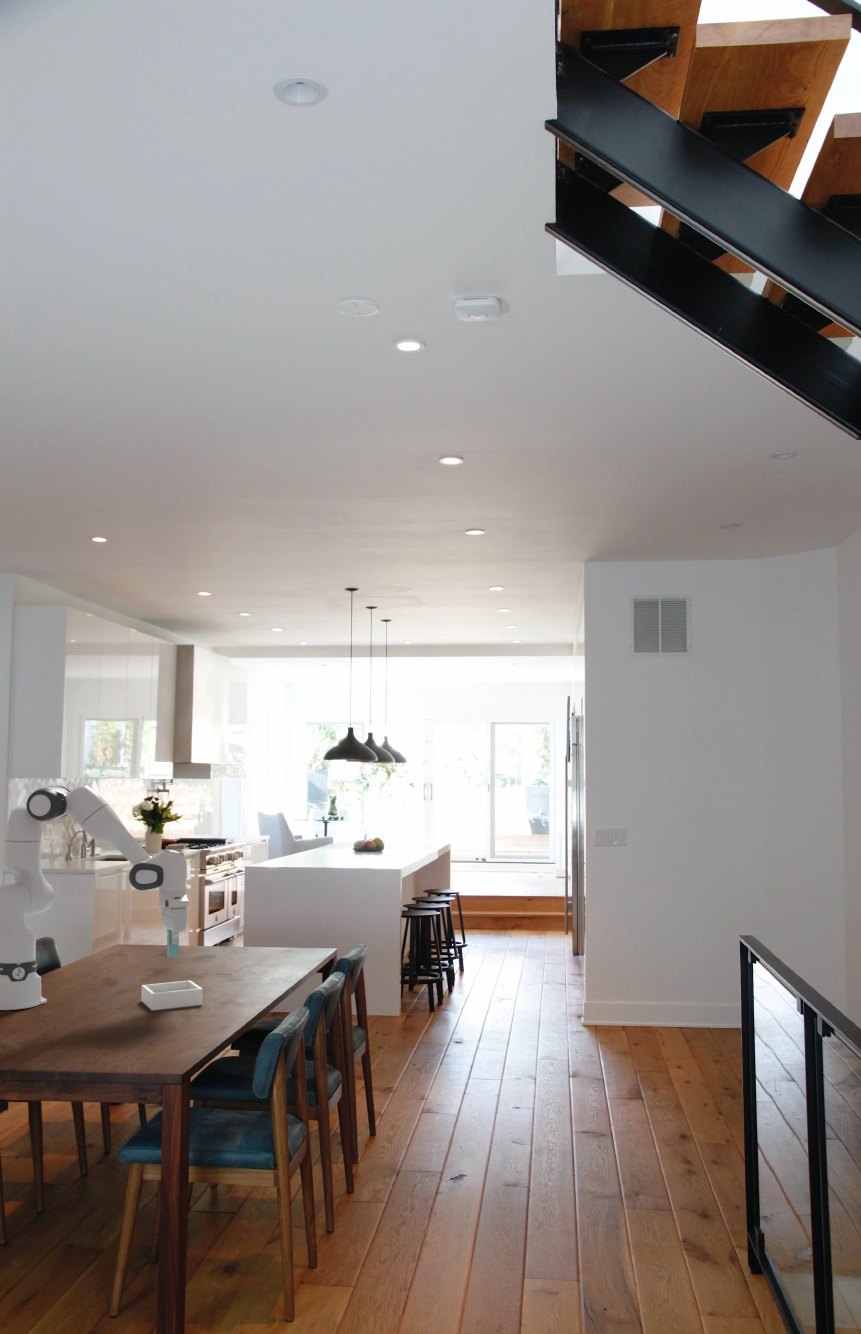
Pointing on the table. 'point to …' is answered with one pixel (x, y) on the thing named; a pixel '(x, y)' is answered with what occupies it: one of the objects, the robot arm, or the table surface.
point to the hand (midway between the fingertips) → (172, 943)
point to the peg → (172, 949)
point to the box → (172, 995)
